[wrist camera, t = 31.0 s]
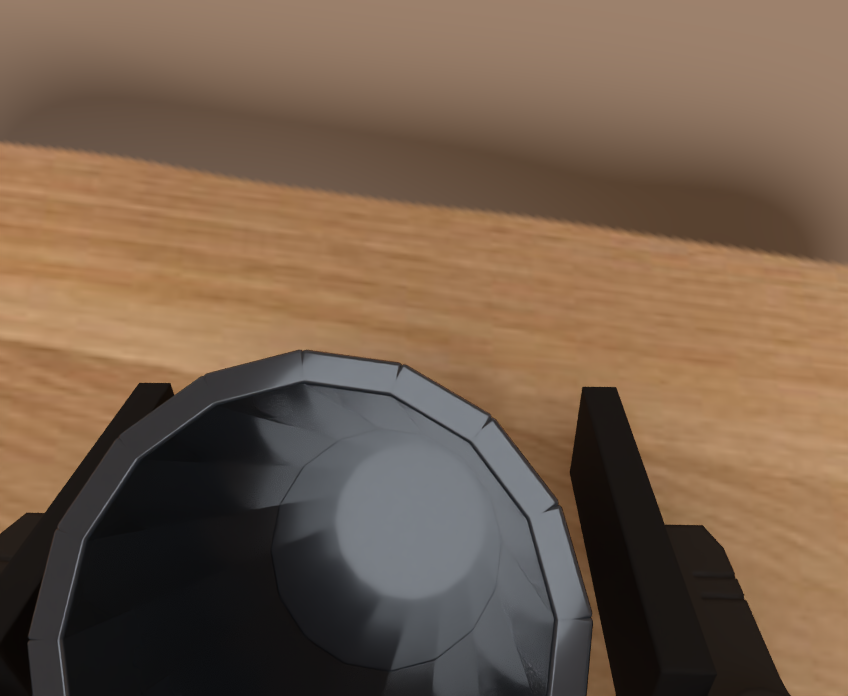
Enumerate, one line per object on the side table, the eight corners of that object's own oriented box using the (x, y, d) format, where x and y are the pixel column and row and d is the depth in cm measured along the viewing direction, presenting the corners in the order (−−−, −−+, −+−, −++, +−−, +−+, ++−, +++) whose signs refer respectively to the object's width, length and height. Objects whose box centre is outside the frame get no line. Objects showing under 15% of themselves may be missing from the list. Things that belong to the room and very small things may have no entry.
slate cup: (562, 498, 18) (691, 531, 8) (432, 736, 17) (396, 1112, 7) (348, 371, 19) (233, 262, 9) (213, 587, 18) (-83, 728, 8)
